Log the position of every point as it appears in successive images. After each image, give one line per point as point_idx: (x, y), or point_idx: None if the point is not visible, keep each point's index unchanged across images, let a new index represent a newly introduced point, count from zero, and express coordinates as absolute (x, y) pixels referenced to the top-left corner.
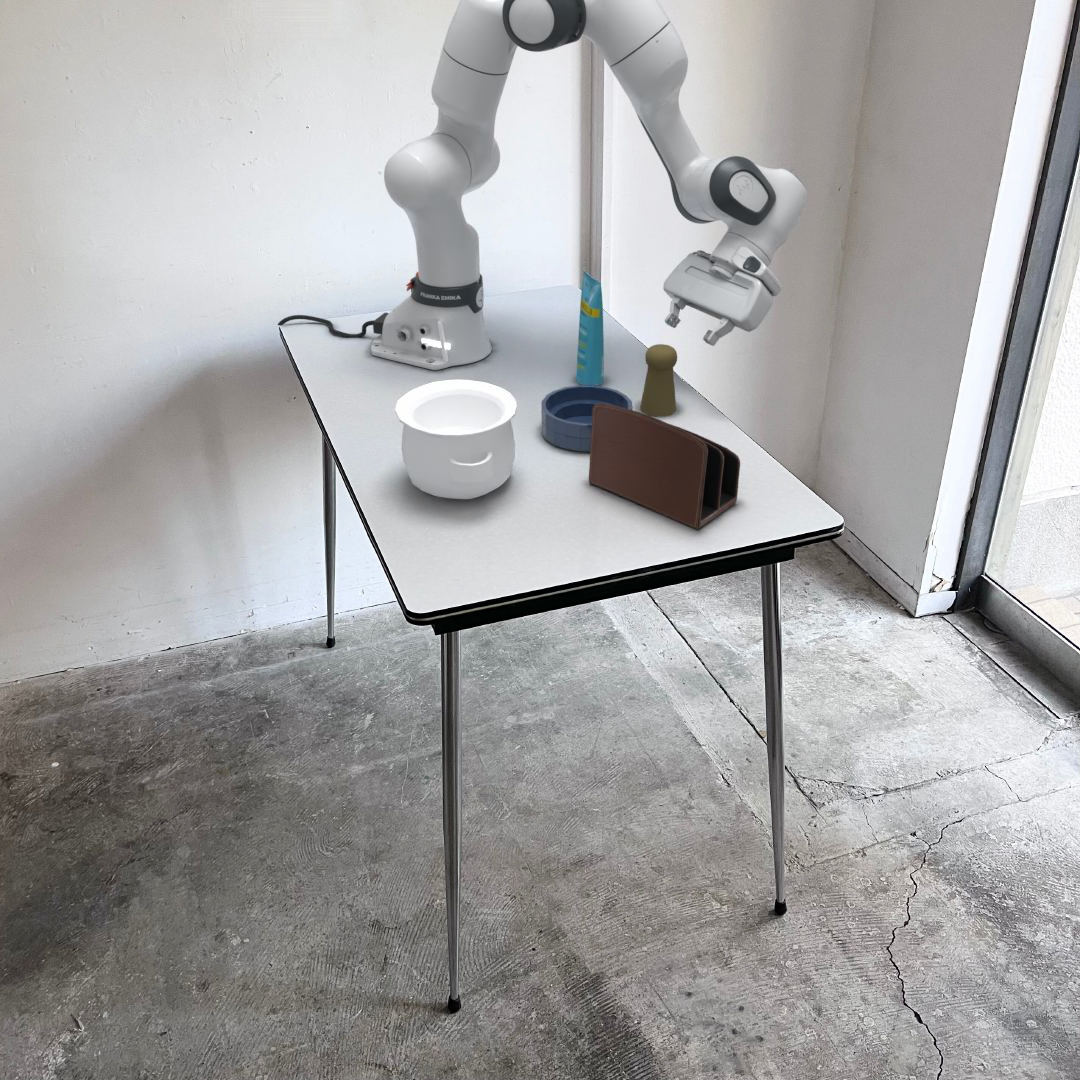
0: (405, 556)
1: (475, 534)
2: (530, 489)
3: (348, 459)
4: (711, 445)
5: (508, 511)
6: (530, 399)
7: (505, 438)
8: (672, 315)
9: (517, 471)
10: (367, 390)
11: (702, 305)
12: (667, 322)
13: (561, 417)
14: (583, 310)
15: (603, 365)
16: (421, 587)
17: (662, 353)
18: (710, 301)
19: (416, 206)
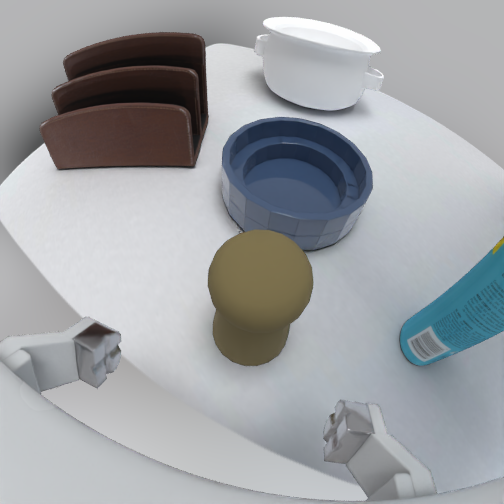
0: None
1: (241, 67)
2: (250, 100)
3: (389, 96)
4: (61, 84)
5: (242, 82)
6: (418, 231)
7: (269, 45)
8: (361, 426)
9: (284, 112)
10: (487, 175)
11: (154, 460)
12: (358, 402)
13: (341, 192)
14: None
15: (421, 341)
16: (230, 47)
17: (239, 239)
18: (75, 462)
19: None
